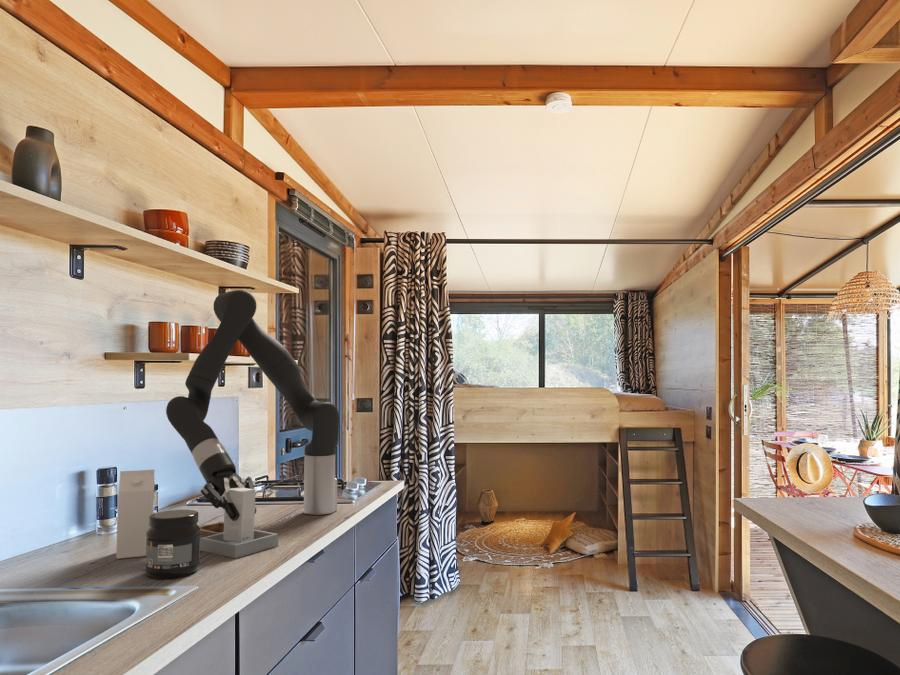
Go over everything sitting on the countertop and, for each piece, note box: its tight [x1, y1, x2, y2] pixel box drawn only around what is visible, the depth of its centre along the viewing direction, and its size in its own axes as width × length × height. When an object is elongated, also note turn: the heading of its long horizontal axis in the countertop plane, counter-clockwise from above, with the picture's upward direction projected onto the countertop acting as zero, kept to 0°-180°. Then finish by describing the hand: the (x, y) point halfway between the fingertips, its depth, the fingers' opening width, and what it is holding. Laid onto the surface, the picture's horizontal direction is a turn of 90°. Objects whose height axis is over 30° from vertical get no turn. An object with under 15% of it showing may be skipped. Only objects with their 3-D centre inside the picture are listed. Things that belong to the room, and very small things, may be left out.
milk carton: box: [115, 469, 155, 560], centre depth 146 cm, size 7×7×19 cm
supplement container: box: [144, 509, 201, 580], centre depth 131 cm, size 10×10×12 cm
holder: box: [199, 521, 224, 538], centre depth 160 cm, size 9×11×2 cm
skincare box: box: [223, 488, 256, 543], centre depth 150 cm, size 6×4×12 cm
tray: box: [200, 529, 279, 559], centre depth 150 cm, size 13×13×3 cm
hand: (244, 516), depth 149 cm, fingers closed on skincare box, 4 cm apart
